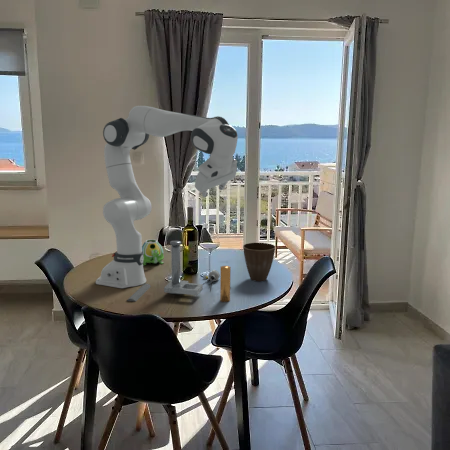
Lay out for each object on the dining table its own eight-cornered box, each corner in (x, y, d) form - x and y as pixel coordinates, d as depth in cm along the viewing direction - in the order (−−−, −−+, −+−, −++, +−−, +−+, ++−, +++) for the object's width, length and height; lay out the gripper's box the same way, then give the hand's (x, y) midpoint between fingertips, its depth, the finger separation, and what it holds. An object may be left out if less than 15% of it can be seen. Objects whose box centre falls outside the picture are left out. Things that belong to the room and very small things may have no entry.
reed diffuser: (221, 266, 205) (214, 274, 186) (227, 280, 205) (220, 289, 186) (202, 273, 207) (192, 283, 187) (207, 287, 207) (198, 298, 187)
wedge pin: (219, 301, 177) (219, 268, 174) (221, 298, 181) (221, 265, 178) (228, 302, 176) (229, 268, 173) (231, 299, 180) (231, 266, 177)
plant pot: (272, 285, 198) (273, 250, 195) (240, 283, 200) (240, 249, 197) (275, 275, 212) (276, 243, 209) (245, 273, 215) (245, 241, 212)
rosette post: (163, 298, 180) (163, 245, 176) (172, 289, 190) (172, 240, 186) (197, 301, 177) (197, 248, 173) (204, 292, 187) (204, 242, 183)
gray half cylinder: (125, 302, 176) (125, 298, 176) (142, 286, 195) (142, 283, 195) (136, 303, 176) (135, 298, 175) (151, 287, 195) (151, 283, 194)
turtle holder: (143, 269, 220) (143, 246, 218) (138, 260, 237) (137, 238, 234) (168, 267, 224) (167, 244, 222) (161, 258, 241) (160, 237, 238)
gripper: (232, 154, 179) (225, 181, 188) (195, 167, 167) (189, 195, 176) (243, 162, 177) (235, 189, 186) (206, 176, 164) (200, 204, 173)
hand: (212, 192), depth 181 cm, fingers open, 8 cm apart
